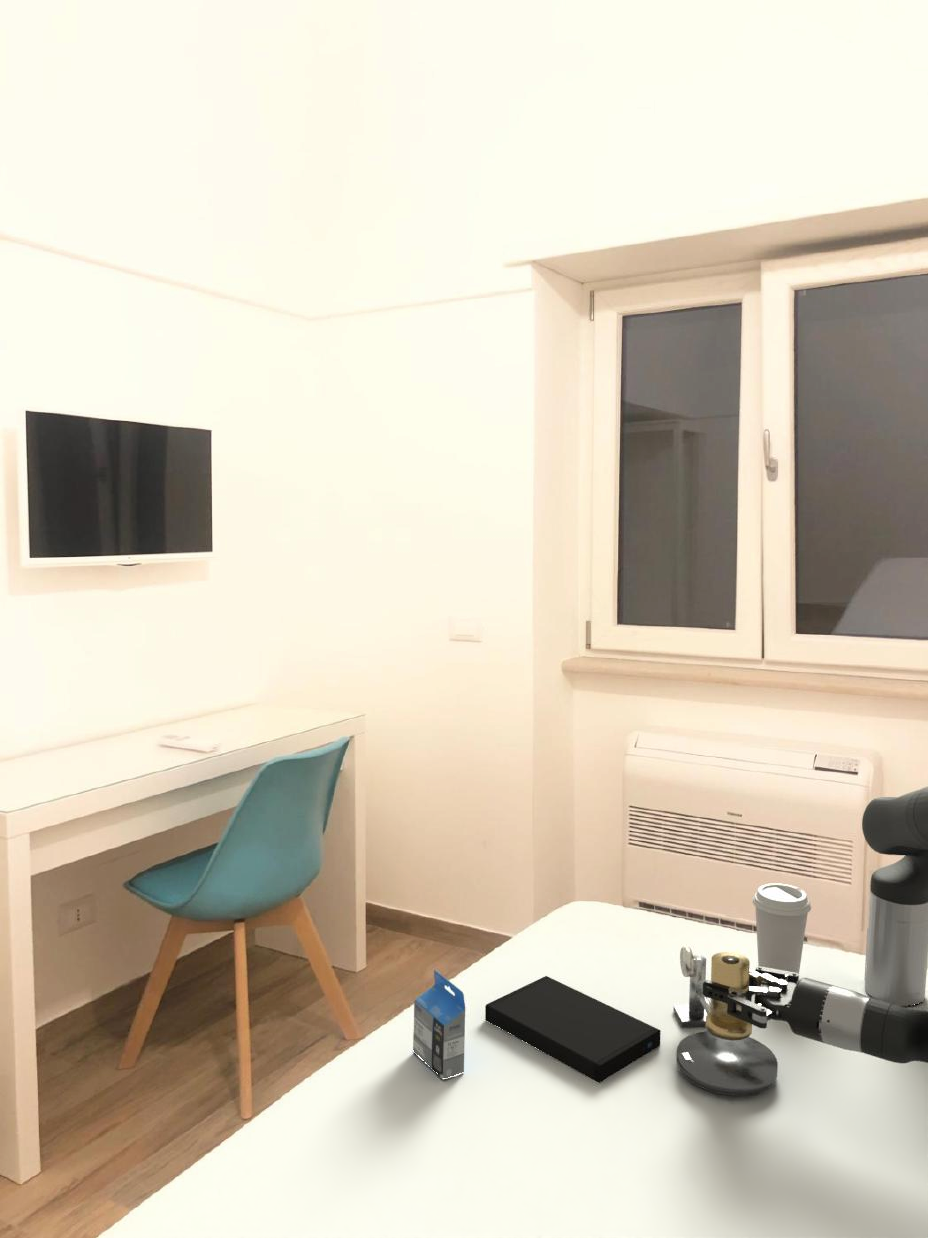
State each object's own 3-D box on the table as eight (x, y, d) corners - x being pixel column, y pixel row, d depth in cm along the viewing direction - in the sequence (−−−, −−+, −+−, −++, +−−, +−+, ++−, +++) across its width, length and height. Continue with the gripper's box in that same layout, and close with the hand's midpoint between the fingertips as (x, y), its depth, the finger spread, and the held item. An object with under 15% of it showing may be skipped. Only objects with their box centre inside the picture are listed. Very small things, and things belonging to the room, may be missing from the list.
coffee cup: (815, 990, 172) (819, 904, 170) (757, 989, 172) (761, 903, 170) (797, 963, 182) (801, 881, 180) (743, 962, 182) (746, 881, 180)
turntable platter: (665, 1041, 155) (665, 1030, 154) (757, 1038, 155) (757, 1027, 155) (691, 1097, 141) (692, 1085, 141) (792, 1093, 142) (792, 1081, 141)
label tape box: (411, 1053, 153) (411, 975, 152) (435, 1045, 156) (435, 968, 154) (442, 1082, 146) (442, 1000, 144) (466, 1074, 148) (466, 993, 146)
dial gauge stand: (673, 1011, 165) (675, 941, 164) (710, 1010, 166) (712, 940, 164) (694, 1053, 153) (697, 978, 152) (734, 1051, 154) (737, 977, 152)
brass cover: (699, 1018, 150) (701, 950, 149) (743, 1016, 150) (745, 948, 149) (713, 1041, 144) (715, 970, 142) (758, 1039, 144) (760, 969, 143)
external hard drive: (546, 992, 172) (547, 975, 172) (660, 1048, 155) (660, 1029, 155) (485, 1023, 163) (485, 1005, 162) (599, 1086, 146) (599, 1066, 145)
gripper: (849, 968, 143) (732, 937, 153) (816, 1010, 132) (691, 974, 142) (847, 1019, 144) (730, 985, 154) (813, 1065, 133) (690, 1025, 143)
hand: (712, 980), depth 148 cm, fingers closed on brass cover, 5 cm apart
